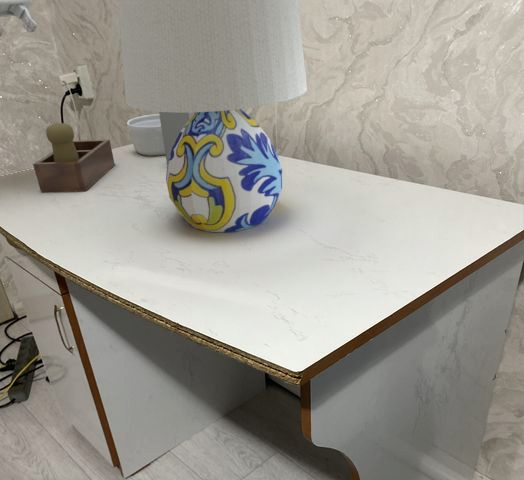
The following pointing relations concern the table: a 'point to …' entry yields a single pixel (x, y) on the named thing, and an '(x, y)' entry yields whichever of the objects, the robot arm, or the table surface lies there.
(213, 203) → the table lamp
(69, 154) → the cork
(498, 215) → the table surface
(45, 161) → the wooden box
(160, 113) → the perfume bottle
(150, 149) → the ramekin
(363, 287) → the table surface
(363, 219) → the table surface
